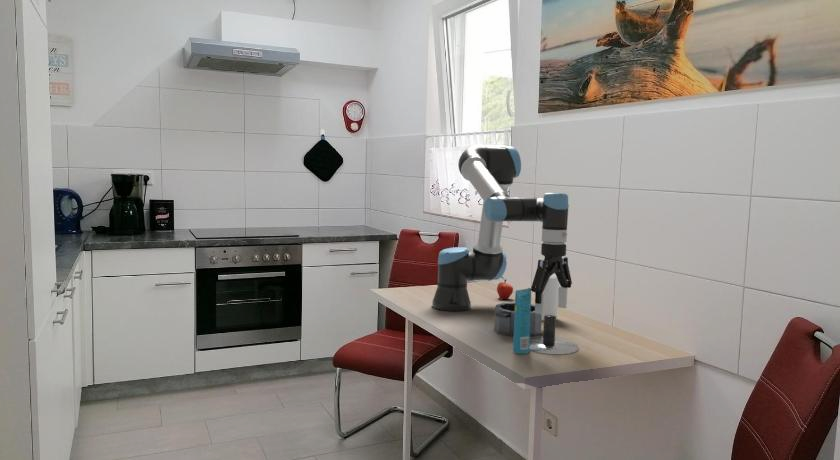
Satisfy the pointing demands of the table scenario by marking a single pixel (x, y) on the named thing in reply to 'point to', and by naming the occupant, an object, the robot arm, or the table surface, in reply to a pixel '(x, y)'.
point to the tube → (522, 321)
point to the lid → (551, 340)
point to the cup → (551, 297)
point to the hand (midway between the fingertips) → (550, 310)
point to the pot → (506, 320)
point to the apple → (504, 290)
